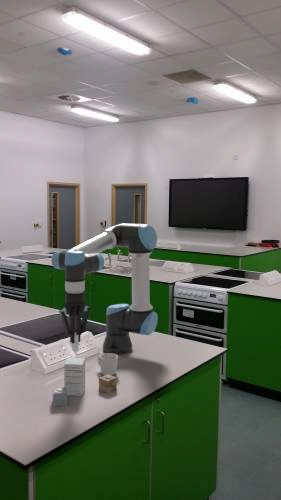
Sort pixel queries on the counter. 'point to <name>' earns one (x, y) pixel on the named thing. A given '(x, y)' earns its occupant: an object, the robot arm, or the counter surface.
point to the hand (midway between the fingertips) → (75, 350)
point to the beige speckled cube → (107, 383)
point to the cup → (108, 363)
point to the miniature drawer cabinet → (74, 376)
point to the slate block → (59, 396)
